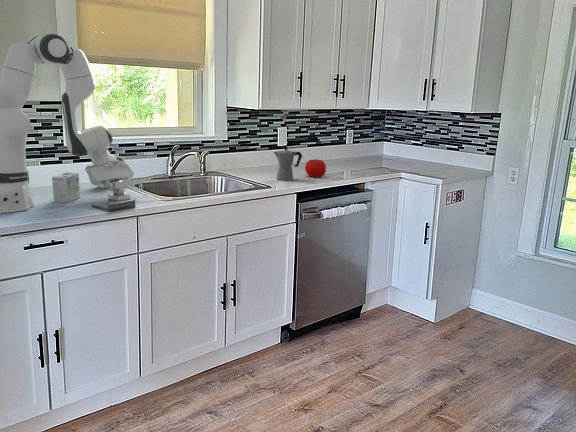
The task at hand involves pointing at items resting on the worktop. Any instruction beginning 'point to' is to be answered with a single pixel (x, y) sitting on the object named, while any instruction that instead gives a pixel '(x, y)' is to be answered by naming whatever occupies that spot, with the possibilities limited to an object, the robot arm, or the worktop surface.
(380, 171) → the worktop surface
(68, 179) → the light bulb box
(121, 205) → the seat plate
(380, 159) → the worktop surface
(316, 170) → the tomato
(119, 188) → the hub
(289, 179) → the coffeepot
